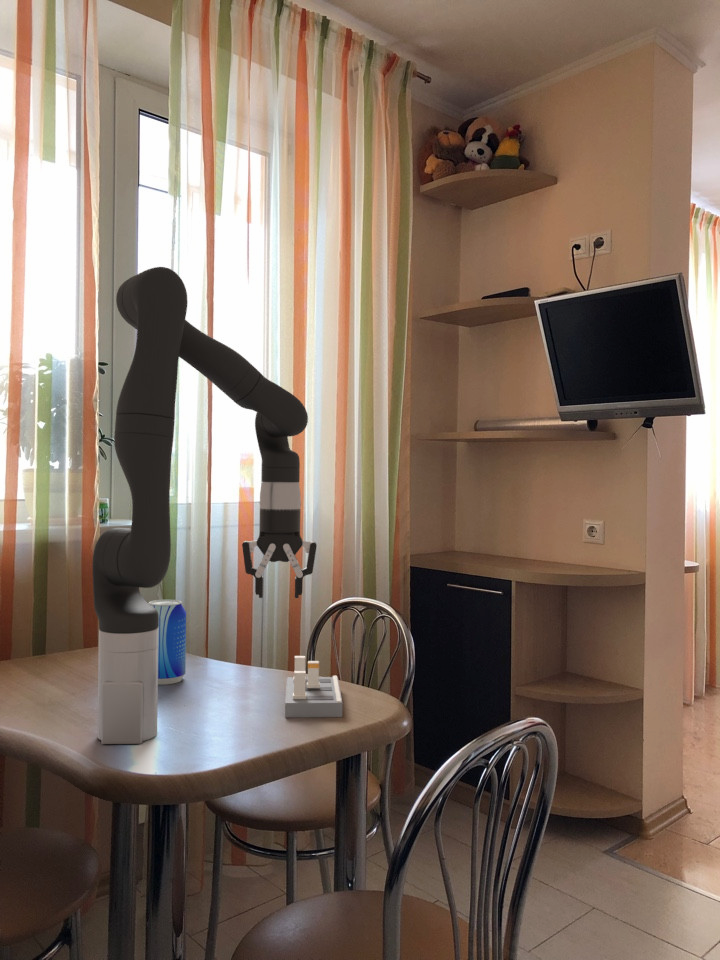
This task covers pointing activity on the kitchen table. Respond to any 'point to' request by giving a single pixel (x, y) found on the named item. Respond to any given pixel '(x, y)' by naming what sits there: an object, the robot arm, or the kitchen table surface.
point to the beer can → (171, 641)
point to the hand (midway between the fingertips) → (279, 597)
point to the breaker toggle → (313, 674)
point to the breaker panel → (311, 695)
